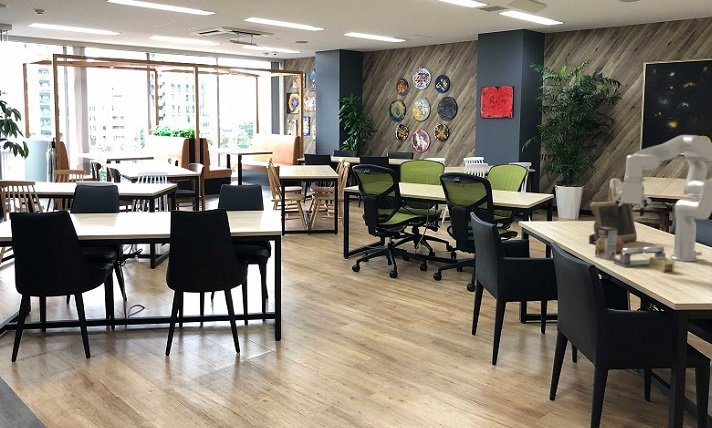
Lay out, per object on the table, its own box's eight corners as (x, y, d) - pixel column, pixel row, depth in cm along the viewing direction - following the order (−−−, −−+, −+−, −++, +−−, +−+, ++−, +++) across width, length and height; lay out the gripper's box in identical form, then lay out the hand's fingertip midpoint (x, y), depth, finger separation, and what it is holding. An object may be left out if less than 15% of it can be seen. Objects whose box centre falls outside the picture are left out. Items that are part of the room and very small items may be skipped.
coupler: (648, 268, 323) (649, 256, 322) (659, 267, 324) (660, 255, 323) (662, 272, 313) (663, 260, 312) (674, 272, 315) (674, 260, 314)
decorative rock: (602, 248, 371) (603, 231, 370) (623, 250, 367) (624, 232, 366) (601, 253, 359) (602, 235, 358) (623, 254, 355) (624, 236, 354)
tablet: (606, 247, 375) (609, 204, 371) (585, 243, 386) (587, 201, 382) (638, 241, 394) (641, 199, 390) (617, 238, 405) (619, 197, 401)
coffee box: (594, 256, 350) (596, 226, 347) (604, 255, 352) (606, 226, 349) (605, 260, 341) (607, 229, 339) (616, 259, 343) (617, 228, 341)
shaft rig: (658, 261, 338) (659, 245, 337) (670, 265, 330) (671, 248, 328) (613, 263, 333) (614, 247, 331) (624, 267, 324) (626, 250, 323)
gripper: (654, 180, 319) (651, 215, 321) (617, 178, 329) (615, 212, 332) (650, 182, 313) (647, 217, 315) (612, 179, 324) (610, 214, 326)
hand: (631, 215), depth 324 cm, fingers open, 9 cm apart
